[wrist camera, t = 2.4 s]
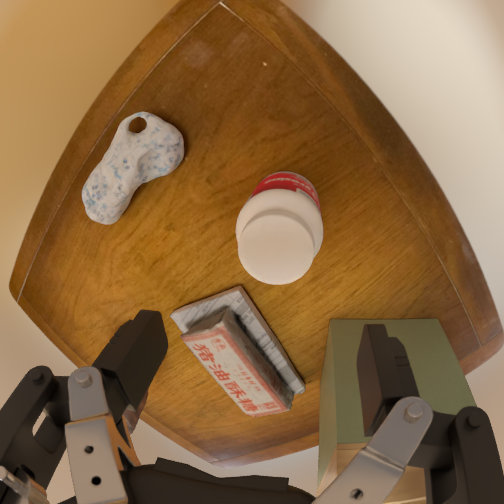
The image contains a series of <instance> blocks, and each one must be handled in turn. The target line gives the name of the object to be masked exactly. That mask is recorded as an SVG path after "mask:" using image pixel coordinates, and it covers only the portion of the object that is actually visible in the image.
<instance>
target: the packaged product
mask: <svg viewBox="0 0 504 504" xmlns="http://www.w3.org/2000/svg"><path fill="white" fill-rule="evenodd" d="M170 317H171V318H172V319H173V320H174V321H175V323H176V324H177V325H178V328H179V329H180V330H181V331H182V332H183V334H181V338H182V340H183V341H184V342H185V344H186V345H187V346H188V348H189V349H190V350H191V351H192V353H193V354H194V355H195V356H196V358H197V359H198V360H199V361H200V363H201V364H202V365H203V366H204V367H205V368H206V369H207V371H208V372H209V373H210V374H211V375H212V376H213V378H214V379H215V380H216V381H217V382H218V383H219V385H220V386H221V387H222V388H223V389H224V390H225V391H226V393H227V394H228V395H229V396H230V397H231V398H232V399H233V400H234V401H235V402H236V404H237V405H238V406H239V407H240V408H241V409H242V411H243V412H244V413H246V414H247V415H250V416H254V417H259V416H265V415H270V414H276V413H280V412H285V411H288V410H291V406H292V401H293V397H294V395H295V394H302V393H303V392H304V391H305V384H304V382H303V381H302V379H301V378H300V377H299V375H298V374H297V372H296V370H295V368H294V367H293V365H292V363H291V361H290V360H289V358H288V356H287V354H286V353H285V351H284V349H283V348H282V346H281V344H280V342H279V341H278V339H277V338H276V336H275V335H274V334H273V332H272V331H271V329H270V328H269V327H268V325H267V324H266V322H265V321H264V319H263V318H262V316H261V315H260V313H259V312H258V310H257V309H256V307H255V306H254V304H253V303H252V301H251V300H250V298H249V297H248V295H247V294H246V292H245V291H244V289H243V288H242V286H241V285H240V286H237V287H234V288H232V289H229V290H227V291H224V292H222V293H219V294H216V295H214V296H211V297H208V298H206V299H203V300H200V301H197V302H195V303H192V304H189V305H186V306H184V307H182V308H179V309H177V310H175V311H173V312H172V314H171V315H170Z"/></svg>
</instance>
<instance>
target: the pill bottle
mask: <svg viewBox="0 0 504 504" xmlns="http://www.w3.org/2000/svg"><path fill="white" fill-rule="evenodd" d="M236 238H237V242H238V255H239V258H240V261H241V263H242V265H243V267H244V268H245V270H246V271H247V272H248V273H249V274H250V275H251V276H253V277H254V278H255V279H257V280H259V281H261V282H264V283H268V284H274V285H280V284H287V283H291V282H293V281H295V280H297V279H299V278H300V277H302V276H303V275H304V274H305V273H306V272H307V271H308V269H309V268H310V266H311V264H312V261H313V258H314V257H315V256H316V255H317V253H318V251H319V249H320V247H321V244H322V240H323V222H322V216H321V210H320V204H319V199H318V195H317V192H316V190H315V188H314V187H313V185H312V184H311V183H310V182H309V181H308V180H307V179H306V178H305V177H303V176H301V175H299V174H297V173H294V172H288V171H281V172H276V173H273V174H271V175H269V176H267V177H265V178H264V179H263V180H262V181H261V182H260V183H259V184H258V185H257V187H256V188H255V190H254V191H253V193H252V194H251V196H250V197H249V199H248V200H247V202H246V203H245V205H244V206H243V208H242V209H241V211H240V214H239V216H238V219H237V223H236Z"/></svg>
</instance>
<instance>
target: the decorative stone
mask: <svg viewBox="0 0 504 504" xmlns="http://www.w3.org/2000/svg"><path fill="white" fill-rule="evenodd" d="M136 117H141V118H144V119H145V120H146V122H147V127H146V128H145V130H143V131H142V132H140V133H132V132H131V131H129V130H128V129H129V124H130V122H131V121H132V119H135V118H136ZM183 157H184V141H183V137H182V134H181V133H180V132H179V131H178V130H177V129H176V128H175V127H174V126H173V125H171V124H169V123H167V122H165V121H163V120H162V119H161V118H159V117H157V116H155V115H153V114H150V113H147V112H139V113H135V114H133V115H131V116H129V117H127V118H125V119H124V120H123V121H122V122H121V123H120V125H119V127H118V130H117V132H116V135H115V137H114V139H113V141H112V143H111V146H110V147H109V149H108V151H107V152H106V153H105V155H104V157H103V159H102V161H101V162H100V163H99V164H98V165H97V166H96V168H95V169H94V170H93V171H92V173H91V174H90V176H89V178H88V180H87V181H86V183H85V185H84V187H83V190H82V200H83V203H84V205H85V209H86V213H87V215H88V216H89V217H90V219H92V220H94V221H96V222H99V223H102V224H112V223H115V222H116V221H117V220H118V219H119V218H120V217H121V215H122V214H123V212H124V211H125V209H126V208H127V207H128V205H129V203H130V200H131V198H132V196H133V193H134V192H135V190H136V189H137V188H138V187H139V186H140V185H141V184H142V183H147V182H149V181H151V180H153V179H155V178H157V177H160V176H165V175H168V174H170V173H171V172H172V171H173V170H175V169H176V168H177V167H178V166H179V164H180V162H181V161H182V159H183Z"/></svg>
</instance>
